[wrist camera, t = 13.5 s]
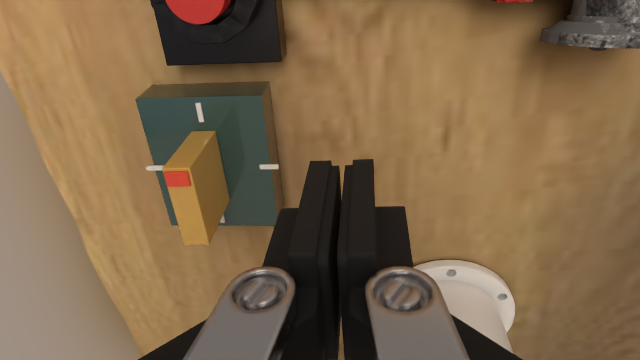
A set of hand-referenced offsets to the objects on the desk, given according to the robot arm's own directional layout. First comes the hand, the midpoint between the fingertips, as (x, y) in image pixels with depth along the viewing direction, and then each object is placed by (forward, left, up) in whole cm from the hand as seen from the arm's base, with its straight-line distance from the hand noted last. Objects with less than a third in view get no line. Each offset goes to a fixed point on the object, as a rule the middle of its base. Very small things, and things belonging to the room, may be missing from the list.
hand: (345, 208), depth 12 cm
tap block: (-9, +11, -21) cm, 25 cm away
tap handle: (-9, +11, -18) cm, 23 cm away
